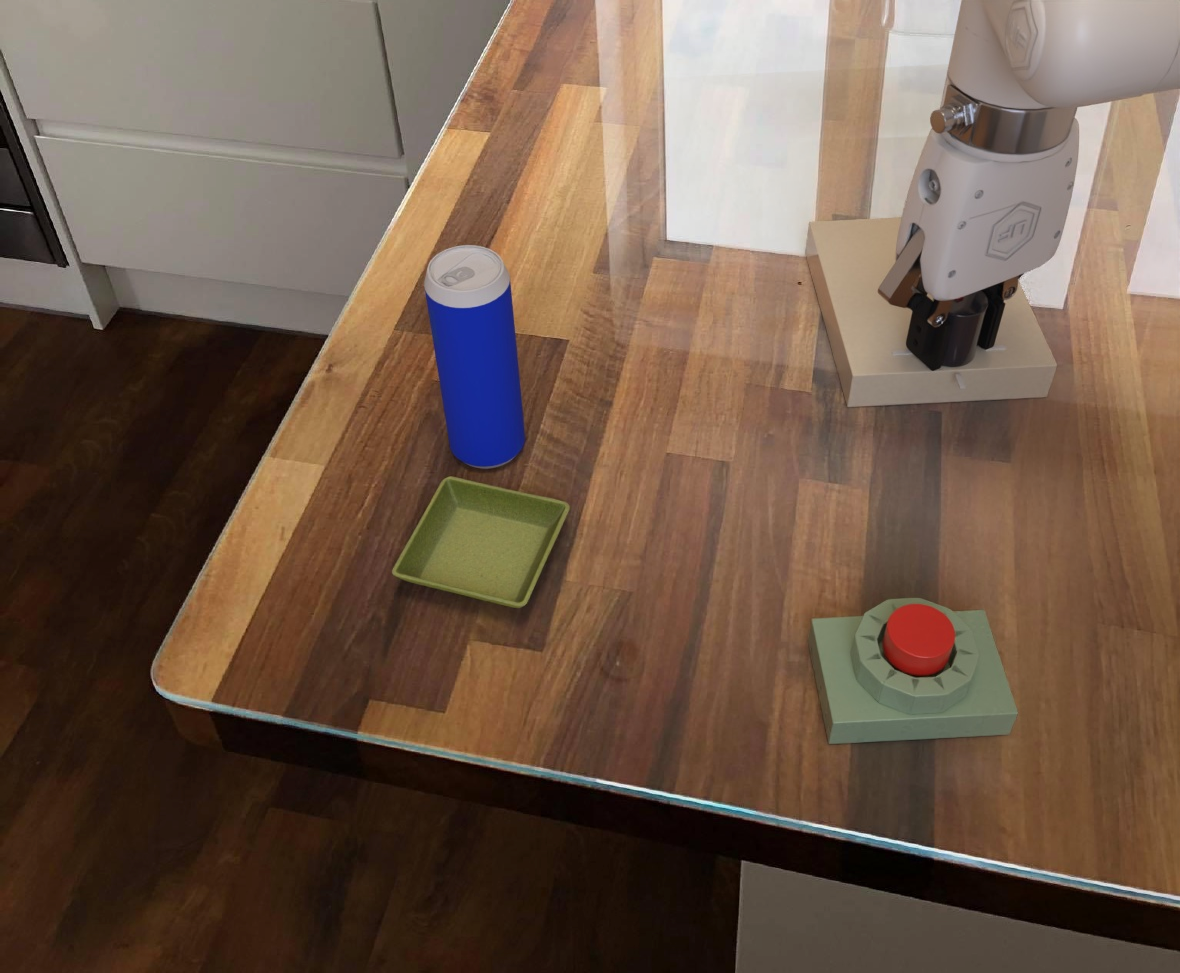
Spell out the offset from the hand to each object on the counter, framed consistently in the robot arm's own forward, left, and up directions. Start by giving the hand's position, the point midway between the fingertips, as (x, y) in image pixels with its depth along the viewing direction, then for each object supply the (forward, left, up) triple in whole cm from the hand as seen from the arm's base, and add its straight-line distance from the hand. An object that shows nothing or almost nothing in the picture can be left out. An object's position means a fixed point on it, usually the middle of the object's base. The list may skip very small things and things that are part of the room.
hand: (949, 345), depth 84 cm
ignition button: (+8, +25, 0) cm, 26 cm away
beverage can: (+32, +4, -4) cm, 32 cm away
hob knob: (0, 0, 0) cm, 0 cm away
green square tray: (+32, +14, -4) cm, 35 cm away
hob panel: (0, -7, -3) cm, 8 cm away
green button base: (+8, +25, -3) cm, 26 cm away
